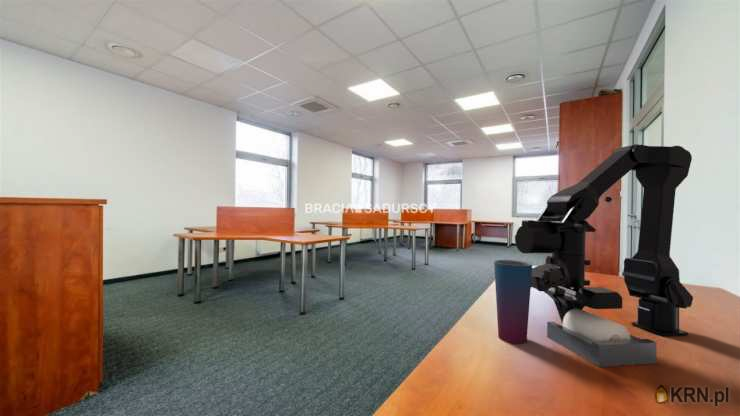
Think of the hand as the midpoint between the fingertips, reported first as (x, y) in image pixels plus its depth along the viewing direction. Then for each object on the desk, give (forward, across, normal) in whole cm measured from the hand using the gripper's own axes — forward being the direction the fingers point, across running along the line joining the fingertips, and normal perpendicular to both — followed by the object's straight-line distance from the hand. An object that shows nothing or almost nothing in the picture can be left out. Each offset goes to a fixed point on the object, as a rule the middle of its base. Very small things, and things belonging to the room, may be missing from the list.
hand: (566, 328), depth 60 cm
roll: (+1, +7, 0) cm, 7 cm away
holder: (+1, +6, 0) cm, 6 cm away
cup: (+1, +2, -13) cm, 13 cm away
